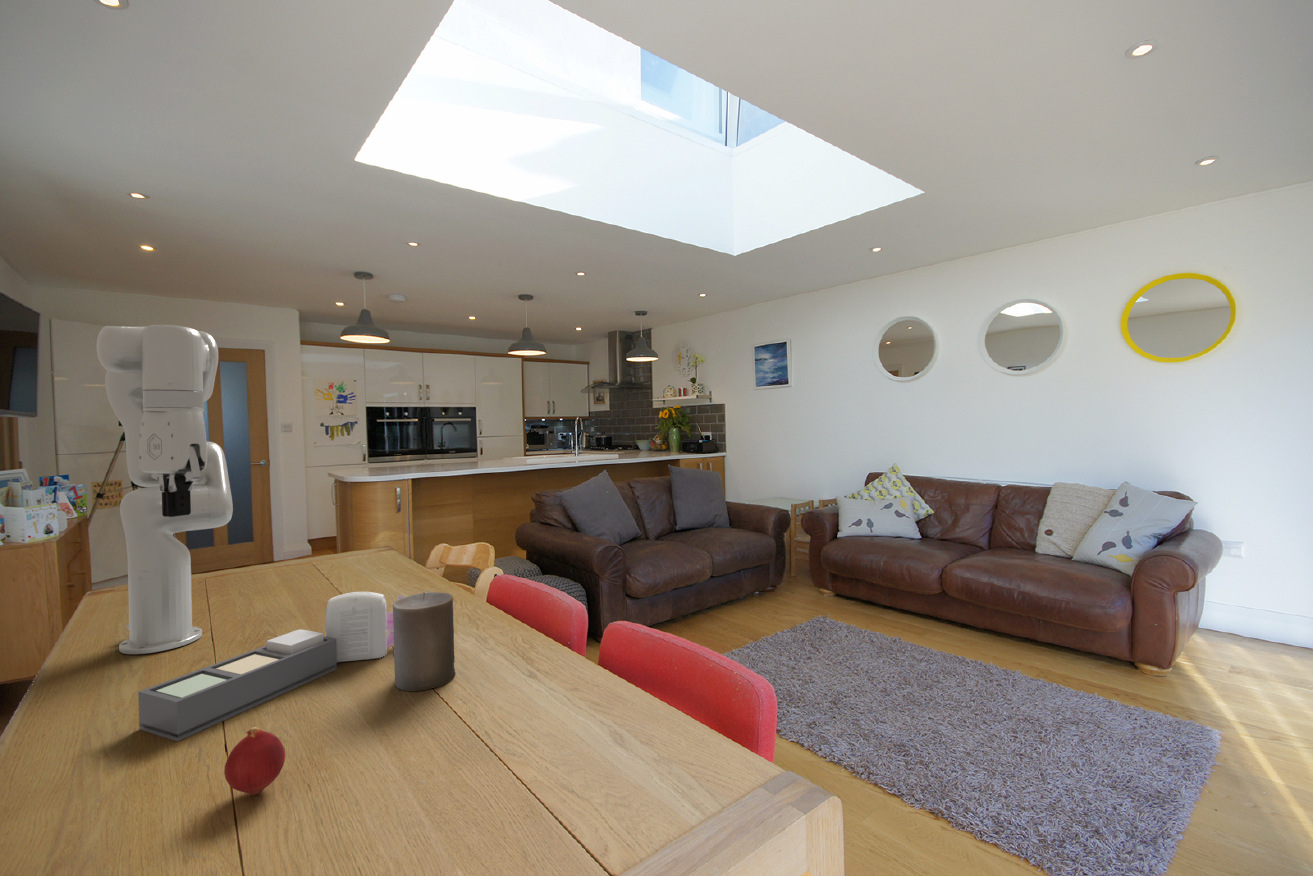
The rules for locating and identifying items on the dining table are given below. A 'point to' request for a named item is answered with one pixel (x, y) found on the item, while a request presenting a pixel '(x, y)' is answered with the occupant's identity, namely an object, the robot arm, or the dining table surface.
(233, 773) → the onion
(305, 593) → the dining table surface
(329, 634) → the photo printer
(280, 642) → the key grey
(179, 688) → the key sage
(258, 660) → the key sand
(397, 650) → the pillar candle
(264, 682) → the grey compartment tray
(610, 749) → the dining table surface
